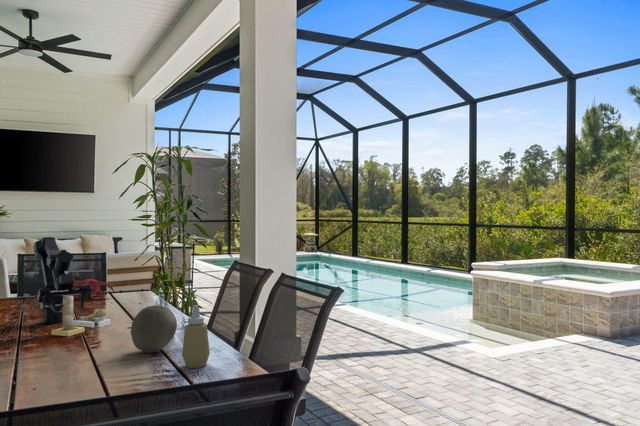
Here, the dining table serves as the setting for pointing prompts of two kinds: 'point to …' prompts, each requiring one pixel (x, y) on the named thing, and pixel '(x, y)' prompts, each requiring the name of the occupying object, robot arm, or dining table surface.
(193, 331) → the squeeze bottle
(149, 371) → the dining table surface
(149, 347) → the grey egg-shaped stone
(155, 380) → the dining table surface
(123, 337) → the dining table surface
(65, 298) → the post
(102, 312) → the figurine
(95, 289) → the red toy dinosaur
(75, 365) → the dining table surface
